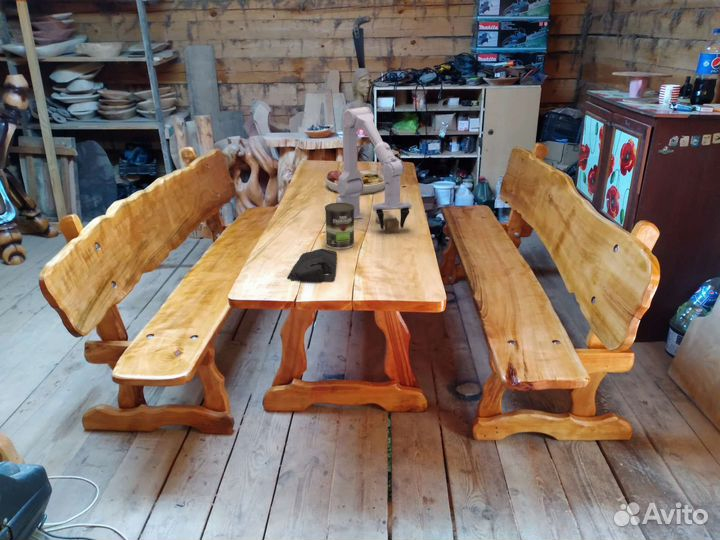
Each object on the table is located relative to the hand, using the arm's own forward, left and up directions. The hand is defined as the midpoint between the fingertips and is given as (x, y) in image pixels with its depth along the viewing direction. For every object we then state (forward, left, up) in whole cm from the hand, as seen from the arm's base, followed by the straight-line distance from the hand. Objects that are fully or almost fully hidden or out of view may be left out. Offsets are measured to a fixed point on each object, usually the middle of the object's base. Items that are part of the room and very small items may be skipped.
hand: (391, 227), depth 210 cm
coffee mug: (+18, +88, -2) cm, 90 cm away
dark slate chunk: (-31, -29, -2) cm, 43 cm away
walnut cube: (0, 0, -2) cm, 2 cm away
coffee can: (-21, -10, -2) cm, 23 cm away
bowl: (-4, +63, -2) cm, 63 cm away
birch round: (0, +11, -2) cm, 11 cm away
